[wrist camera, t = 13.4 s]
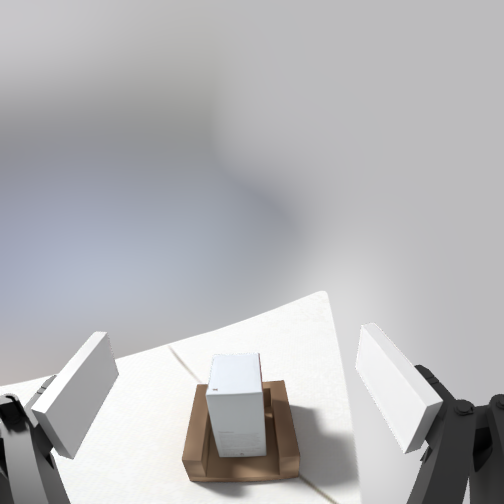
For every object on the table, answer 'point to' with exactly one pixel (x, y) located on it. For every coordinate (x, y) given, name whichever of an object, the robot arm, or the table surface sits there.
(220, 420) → the small box
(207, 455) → the rack
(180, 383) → the table surface
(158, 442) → the table surface
